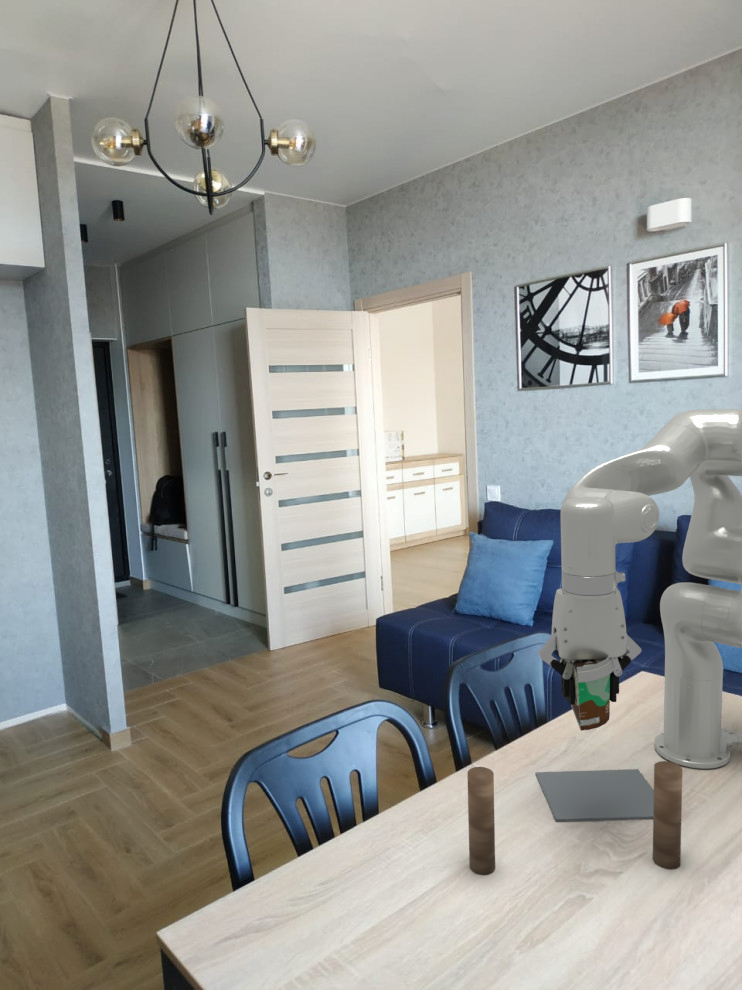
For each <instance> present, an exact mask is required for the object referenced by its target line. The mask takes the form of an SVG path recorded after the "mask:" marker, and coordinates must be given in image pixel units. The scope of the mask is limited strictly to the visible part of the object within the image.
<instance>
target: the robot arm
mask: <svg viewBox="0 0 742 990" xmlns="http://www.w3.org/2000/svg"><path fill="white" fill-rule="evenodd" d="M731 476H732V477H733V476H734V477H742V409H740V408H739V409H737V408H736V409H735V408H730V409H729V408H722V409H721V408H720V409H715V408H714V409H689V410H685V411H682V412H679V413H678V414H676V415H674V416H673V417H672V418H671V419H670V420H669V421H668V422H667V423H666V424H665V425H664V426H663V427H662V428H661V429H660V430H659V431H658V432H657V433H656V434H655V435H654V436H653V437H652V438H651V439H650V440H649V441H648V442H647V443H646V444H645V445H644V446H643V447H642V448H640V449H638V450H637V449H636V450H634V451H631V452H628V453H626V454H624V455H622V456H619V457H616V458H614V459H611V460H609V461H606V462H604V463H602V464H599V465H598V466H597V465H596V467H593V468H592V469H590V470H588V472H586V473H585V474H584V475H583V476H582V477H581V478H580V479H579V480H577V481H576V483H575V484H573V486H572V487H570V489H569V491H568V492H567V494H566V495H565V497H564V498H563V501H562V503H561V504H562V505H561V508H560V546H561V547H560V550H561V551H560V555H561V563H560V564H561V588H557V589H556V591H555V595H554V601H553V609H552V620H551V621H552V623H551V636H550V637H549V639H548V640H547V641H546V642H545V643H544V645H543V646H542V647H541V648H540V649H539V650H538V652H537V655H538V656H539V658H540V659H541V660H542V661H543V662H544V663H546V664H548V666H550V667H551V668H552V669H553V670H554V671H556V672H557V673H558V674H559V676H560V689H561V690H560V691H561V695H562V697H563V698H565V699H566V701H567V702H568V703H569V705H570V706H571V705H574V704H575V680H574V678H573V677H572V672H573V669H574V662H576V661H577V660H595V659H606V658H607V657H608V655H609V657H610V658H612V659H613V663H614V666H615V668H614V670H613V672H612V673H611V674H610V702H612V703H617V695H618V694H619V693H620V676H621V677H622V675H623V671H624V670H625V669H626V668H627V667H628V666H629V665H630V664H631V662H632V660H634V659H635V658H637V656H639V655H640V654H641V652H642V648H641V647H640V646H639V644H637V642H635V640H633V639H632V638H631V637H630V636H629V635H628V634H627V624H626V622H627V621H626V617H625V616H626V615H625V609H624V604H623V599H622V594H621V592H620V590H619V589H618V584H619V583H624V582H626V574H625V572H619V571H617V570H616V545H618V544H624V543H625V544H626V543H636V542H640V541H643V540H645V539H648V537H650V536H651V535H652V534H653V533H654V532H655V531H656V529H657V527H658V524H659V521H660V510H659V507H658V505H657V503H656V501H655V500H654V499H653V498H652V497H651V496H655V495H660V494H664V493H668V492H672V491H674V490H676V489H678V488H680V487H682V486H683V485H684V483H685V482H686V481H687V480H688V479H689V480H690V482H691V483H690V484H691V486H692V490H693V494H694V496H693V497H694V498H693V499H694V500H693V501H694V503H693V507H692V513H691V516H690V522H689V525H688V528H687V529H688V530H687V532H686V537H685V542H684V546H683V550H682V557H681V559H682V560H681V561H682V566H683V568H684V570H685V572H686V571H687V572H688V574H691V575H693V576H695V577H699V578H703V579H709V580H713V581H719V582H720V581H721V582H726V583H733V584H737V585H741V586H742V493H741V491H740V489H738V487H737V486H736V484H735V483H734V481H732V479H731ZM659 611H660V618H661V624H662V628H663V636H664V656H665V657H664V694H663V696H664V700H663V701H664V703H663V704H664V705H663V707H664V708H663V732H662V733H659V734H658V735H657V736H656V737H655V739H654V744H653V745H654V746H653V747H654V749H655V751H656V753H658V755H659V756H661V757H662V758H664V759H665V760H667V761H668V762H673V763H675V764H678V765H679V766H683V767H687V768H692V769H702V770H703V769H704V770H705V769H706V770H709V769H710V770H711V769H717V768H721V767H723V766H725V765H727V764H728V763H729V762H730V759H731V753H730V747H732V745H737V746H738V745H739V746H742V733H735V731H734V729H733V728H725V729H722V719H723V718H722V715H723V713H722V710H723V708H722V707H723V682H724V681H723V679H724V678H723V677H724V676H723V675H724V663H723V659H722V656H721V653H720V651H719V648H718V647H717V645H716V644H715V643H717V644H721V645H725V646H728V647H729V646H730V647H734V648H739V649H742V587H741V589H740V590H737V589H729V588H725V587H724V588H723V587H719V586H715V585H707V584H703V583H696V582H690V581H689V582H676V583H673V584H671V585H670V586H668V587H667V588H666V589H665V590H664V591H663V593H662V595H661V598H660V602H659ZM554 651H557V652H558V656H559V658H560V660H558V659H557V657H555V656H553V652H554Z"/></svg>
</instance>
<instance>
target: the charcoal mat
mask: <svg viewBox="0 0 742 990" xmlns="http://www.w3.org/2000/svg"><path fill="white" fill-rule="evenodd" d="M535 777H536V779H537V781H538V783H539V787H540V788H541V790H542V792H543V795H544V797H545V800H546V802H547V804H548V807H549V809H550V811H551V814H552V815H553V818H554V820H555V822H557V823H558V822H559V823H560V822H587V821H588V822H589V821H591V822H592V821H593V822H594V821H620V820H653V811H654V788H653V787H652V786H651V785H650V783H649V782H648V781H647V779H646V778H645V776H644V775H643V774H642V772H641V771H640V769H639V768H637V769H636V768H634V769H632V768H631V769H600V770H598V769H596V770H570V771H569V770H568V771H567V770H566V771H564V770H563V771H539V772H538V771H537V772H535Z"/></svg>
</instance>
